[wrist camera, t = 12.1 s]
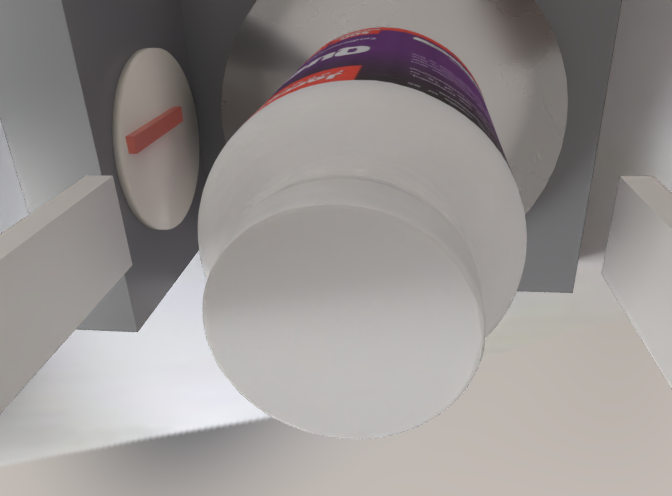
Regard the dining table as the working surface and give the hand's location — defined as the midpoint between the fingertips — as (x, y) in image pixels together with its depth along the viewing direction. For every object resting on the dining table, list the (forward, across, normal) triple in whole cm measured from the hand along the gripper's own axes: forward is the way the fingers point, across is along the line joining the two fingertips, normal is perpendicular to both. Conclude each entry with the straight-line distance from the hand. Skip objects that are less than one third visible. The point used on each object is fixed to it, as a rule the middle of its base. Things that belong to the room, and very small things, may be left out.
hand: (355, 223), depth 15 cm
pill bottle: (+10, 0, 0) cm, 10 cm away
